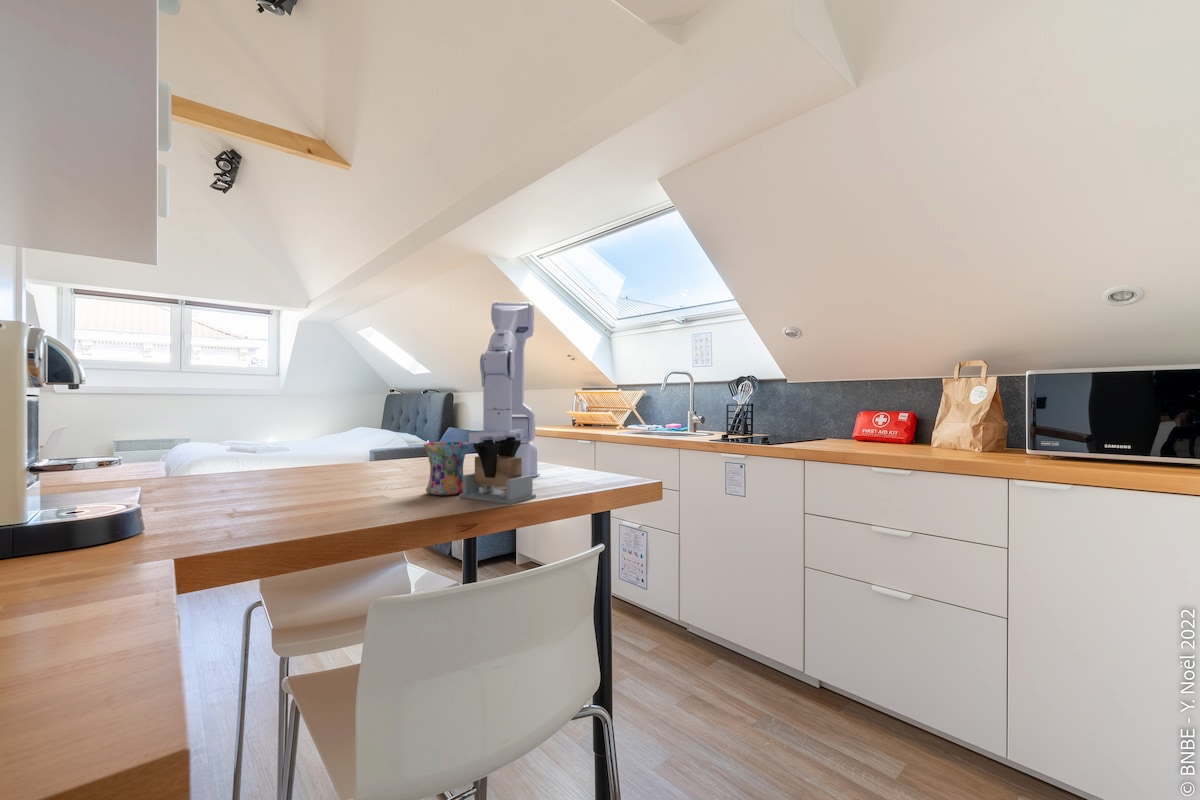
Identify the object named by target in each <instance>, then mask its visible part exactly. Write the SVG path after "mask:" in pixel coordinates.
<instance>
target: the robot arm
mask: <svg viewBox="0 0 1200 800" xmlns="http://www.w3.org/2000/svg"><path fill="white" fill-rule="evenodd" d="M534 309H535V308H534V304H533V302H531V301H528V302H524V301H521V302H519V301H509V302H508V301H507V302H506V301H505V302H504V301H497V300H495V301H494V302H493V303H492V304H491V310H490V313H491V314H490V316H491V318H490V319H491V324H492V325H493V328H494V332H493V333H492V334H491V336H490V339H489V343H488V346H487V349H486V350H485V352H484V353H481V355H480V359H479V370H480V371H479V372H480V376H481V378H480V379H481V387H483V395H482V396H483V398H482V399H483V401H482V402H483V405H482V406H483V407H482V408H483V414H482V415H483V416H482V417H483V421H482V423H483V425H482V427H483V429H482V430H480V431H474V432H469V433H468V443H469V444H473V445H472V446H473V448H474V450H475V451H476V453H477V455H478V456H479V458H480V460H481V463H482V466H483V470H484V474H485V477H488V478H495V474H496V462H497V456H508V457H520V458H522V476H527V475H532V478H535V477H539V476H541V473H538V449H537V447H536V445H535V444H534V443H533V442H532V441H534V439H535V438H536V420H535V419H536V418H535V412H534V410H533V408H531V407H530V406H528V405H527V404H526V403H524V402H525V401H524V399H525V396H524V395H525V346H526V341H527V340H528V339H530V338H531V337H533V333H534V330H535V329H534V327H535V326H534V321H535V320H534V319H535V314H534V313H535V311H534ZM512 415H514V416H512ZM515 415H522V416H515ZM523 415H525V416H523Z"/></svg>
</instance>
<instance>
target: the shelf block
mask: <svg viewBox="0 0 1200 800" xmlns="http://www.w3.org/2000/svg"><path fill="white" fill-rule="evenodd" d="M474 473H475V484H483V485H492V486H494V487H501V488H506V480H508V479H513V478H517V477H522V458H520V457H508V456H497V462H496V474H495V478H488V477H485V474H484V470H483V466H482V463H481V460H480V458H479V455H478V456H474Z"/></svg>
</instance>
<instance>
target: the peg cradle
mask: <svg viewBox="0 0 1200 800" xmlns="http://www.w3.org/2000/svg"><path fill="white" fill-rule="evenodd" d="M494 487H495V486H492V485H483V484H475V472H472V473H468V474H463V492H462V493H459V495H458V498H462V499H468V500H478V501H484V502H492V503H499V504H505V503H506V505H512V504H517V503H520V502H519V501H521V502H524V501H528V500H531V499H535V498H536V497H537V494H536V493H533V477H532V475H527V476H522V477H517V478H513V479H508V480H506V487H505V488H503V489H496V488H494ZM516 502H517V503H516Z"/></svg>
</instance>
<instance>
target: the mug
mask: <svg viewBox="0 0 1200 800" xmlns="http://www.w3.org/2000/svg"><path fill="white" fill-rule="evenodd" d="M469 446H470V443H469V442H467V441H466V442H465V441H436V442H435V441H434V442H427V443H424V444H423V447H424V449H425V451H426V454H427V457H428V458H427V459H428V462H429V468H430V469H429V470H430V471H429V473H430V474H429V479H428V484H427V486H426V488H425V491H426V493H428V494H431V495H435V496H453V495H458V494H463V475H464V462H465V458H466V453H467V451H468V449H469Z"/></svg>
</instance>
